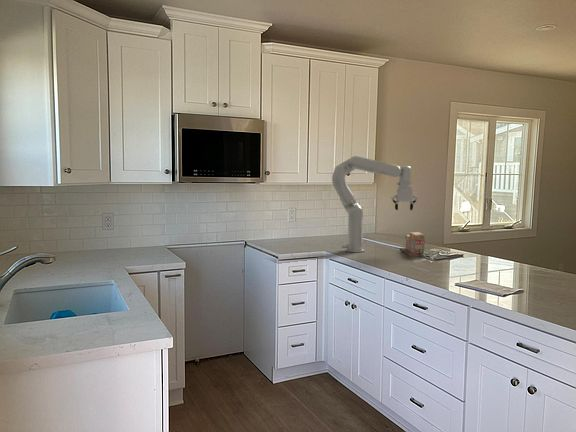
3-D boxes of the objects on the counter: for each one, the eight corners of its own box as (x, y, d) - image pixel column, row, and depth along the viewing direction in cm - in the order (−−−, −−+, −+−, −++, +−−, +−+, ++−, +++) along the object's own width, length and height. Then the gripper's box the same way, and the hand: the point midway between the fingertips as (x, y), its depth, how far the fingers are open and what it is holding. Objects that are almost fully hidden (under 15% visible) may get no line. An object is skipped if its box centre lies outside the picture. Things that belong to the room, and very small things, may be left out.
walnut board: (412, 257, 290) (412, 255, 290) (400, 249, 317) (400, 247, 317) (431, 256, 291) (431, 254, 291) (417, 249, 317) (417, 247, 317)
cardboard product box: (405, 248, 315) (405, 230, 314) (414, 248, 316) (414, 230, 314) (414, 253, 294) (415, 234, 293) (424, 253, 294) (424, 234, 293)
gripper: (393, 184, 306) (392, 210, 308) (419, 184, 306) (418, 210, 308) (390, 184, 314) (389, 209, 315) (416, 184, 313) (415, 209, 315)
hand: (403, 209), depth 312 cm, fingers open, 9 cm apart
